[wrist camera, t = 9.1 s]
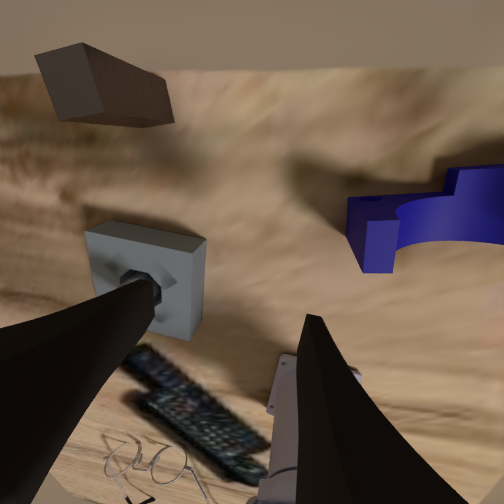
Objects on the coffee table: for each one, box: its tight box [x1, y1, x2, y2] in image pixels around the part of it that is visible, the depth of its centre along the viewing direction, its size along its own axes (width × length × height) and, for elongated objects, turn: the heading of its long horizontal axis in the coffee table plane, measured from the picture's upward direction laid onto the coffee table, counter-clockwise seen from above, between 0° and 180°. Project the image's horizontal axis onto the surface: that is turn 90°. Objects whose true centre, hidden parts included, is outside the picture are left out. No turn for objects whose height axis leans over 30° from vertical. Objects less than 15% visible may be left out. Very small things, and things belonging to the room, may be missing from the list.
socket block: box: [85, 220, 206, 342], centre depth 22 cm, size 9×9×3 cm
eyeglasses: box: [103, 442, 209, 504], centre depth 38 cm, size 16×19×5 cm
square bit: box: [35, 43, 175, 128], centre depth 14 cm, size 3×3×7 cm
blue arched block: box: [346, 164, 504, 273], centre depth 14 cm, size 12×4×6 cm, turn 96°
